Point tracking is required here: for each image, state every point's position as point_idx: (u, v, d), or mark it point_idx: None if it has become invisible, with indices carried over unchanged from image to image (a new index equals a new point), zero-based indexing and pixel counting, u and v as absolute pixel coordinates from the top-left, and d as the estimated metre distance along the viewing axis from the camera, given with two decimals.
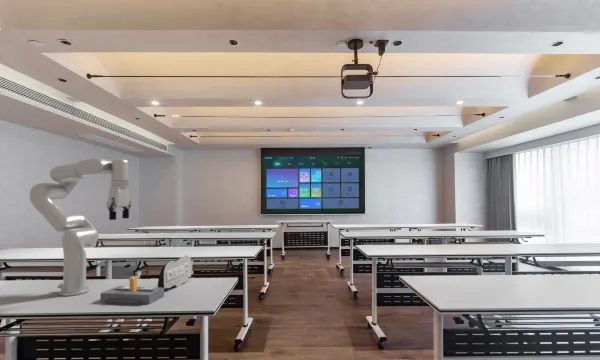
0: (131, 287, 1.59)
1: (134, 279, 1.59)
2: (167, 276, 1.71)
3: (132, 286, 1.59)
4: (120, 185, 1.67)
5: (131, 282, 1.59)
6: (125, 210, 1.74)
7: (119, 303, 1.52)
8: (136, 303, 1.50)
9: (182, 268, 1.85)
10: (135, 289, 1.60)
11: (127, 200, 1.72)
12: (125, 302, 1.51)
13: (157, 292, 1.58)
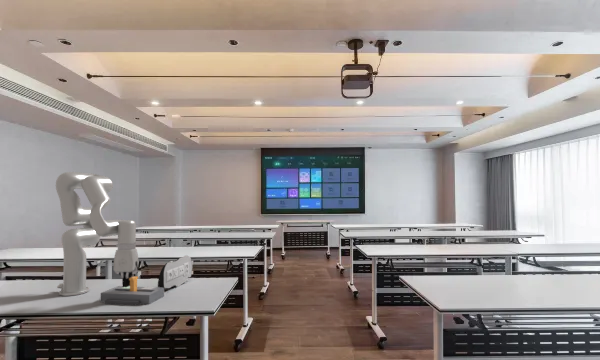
0: (131, 287, 1.59)
1: (134, 279, 1.59)
2: (167, 276, 1.71)
3: (132, 286, 1.59)
4: None
5: (131, 282, 1.59)
6: None
7: (119, 303, 1.52)
8: (136, 303, 1.50)
9: (182, 268, 1.85)
10: (135, 289, 1.60)
11: None
12: (125, 302, 1.51)
13: (157, 292, 1.58)
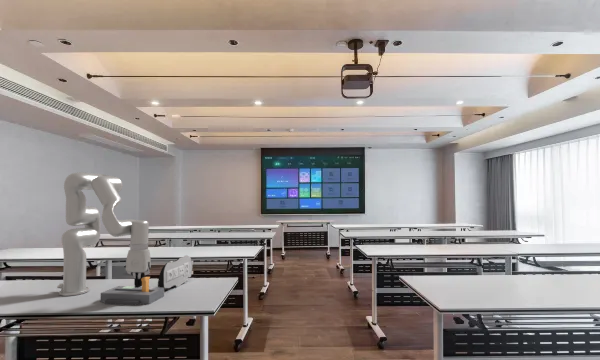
0: (143, 287, 1.58)
1: (146, 279, 1.58)
2: (167, 276, 1.71)
3: (144, 286, 1.58)
4: None
5: (143, 282, 1.58)
6: None
7: (119, 303, 1.52)
8: (136, 303, 1.50)
9: (182, 268, 1.85)
10: (147, 289, 1.59)
11: None
12: (125, 302, 1.51)
13: (157, 292, 1.58)
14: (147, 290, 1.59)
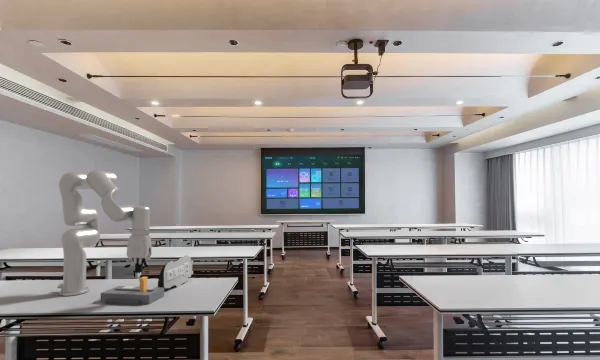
0: (141, 287, 1.58)
1: (144, 279, 1.59)
2: (167, 276, 1.71)
3: (142, 286, 1.58)
4: None
5: (141, 282, 1.58)
6: None
7: (119, 303, 1.52)
8: (136, 303, 1.50)
9: (182, 268, 1.85)
10: (145, 289, 1.59)
11: None
12: (125, 302, 1.51)
13: (157, 292, 1.58)
14: (145, 290, 1.59)
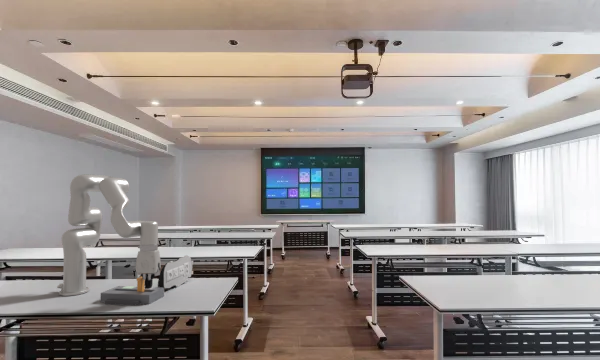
0: (139, 287, 1.58)
1: (142, 279, 1.59)
2: (167, 276, 1.71)
3: (140, 286, 1.58)
4: (157, 248, 1.61)
5: (139, 282, 1.58)
6: None
7: (119, 303, 1.52)
8: (136, 303, 1.50)
9: (182, 268, 1.85)
10: (143, 289, 1.59)
11: None
12: (125, 302, 1.51)
13: (157, 292, 1.58)
14: (142, 290, 1.59)
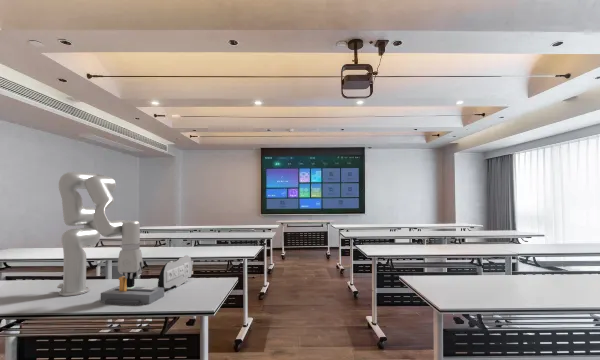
0: (121, 287, 1.60)
1: (124, 279, 1.60)
2: (167, 276, 1.71)
3: (122, 286, 1.60)
4: None
5: (121, 282, 1.60)
6: None
7: (119, 303, 1.52)
8: (136, 303, 1.50)
9: (182, 268, 1.85)
10: (125, 289, 1.61)
11: None
12: (125, 302, 1.51)
13: (157, 292, 1.58)
14: (125, 289, 1.61)
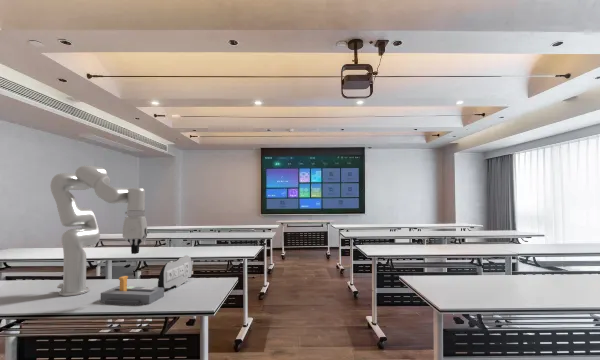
0: (121, 287, 1.60)
1: (124, 279, 1.60)
2: (167, 276, 1.71)
3: (122, 286, 1.59)
4: None
5: (121, 282, 1.60)
6: None
7: (119, 303, 1.52)
8: (136, 303, 1.50)
9: (182, 268, 1.85)
10: (125, 289, 1.61)
11: None
12: (125, 302, 1.51)
13: (157, 292, 1.58)
14: (125, 289, 1.61)
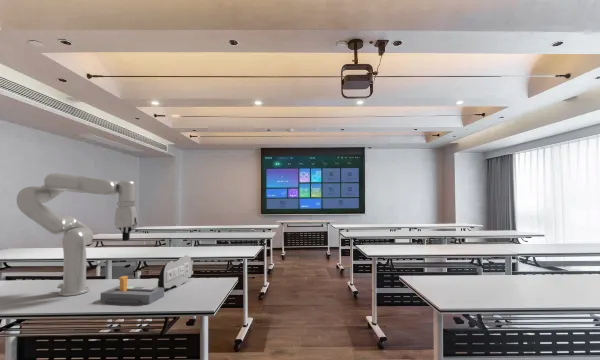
0: (121, 287, 1.60)
1: (124, 279, 1.60)
2: (167, 276, 1.71)
3: (122, 286, 1.59)
4: None
5: (121, 282, 1.60)
6: None
7: (119, 303, 1.52)
8: (136, 303, 1.50)
9: (182, 268, 1.85)
10: (125, 289, 1.61)
11: None
12: (125, 302, 1.51)
13: (157, 292, 1.58)
14: (125, 289, 1.61)
